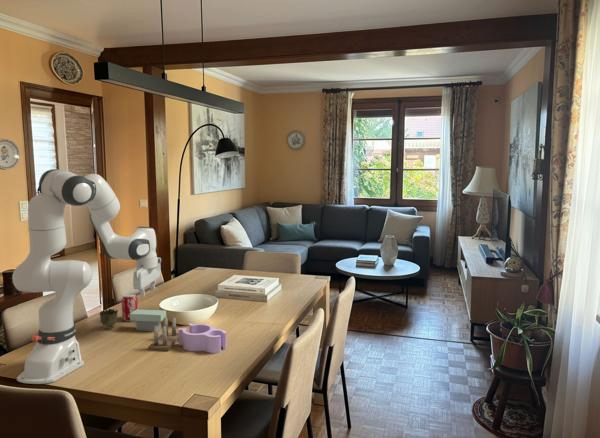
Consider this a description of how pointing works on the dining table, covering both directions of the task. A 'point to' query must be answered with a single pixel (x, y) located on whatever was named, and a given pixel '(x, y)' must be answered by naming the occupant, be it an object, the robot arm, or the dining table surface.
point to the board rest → (147, 325)
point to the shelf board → (148, 315)
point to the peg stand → (164, 337)
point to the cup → (108, 318)
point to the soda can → (129, 305)
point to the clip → (202, 338)
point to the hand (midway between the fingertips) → (147, 293)
